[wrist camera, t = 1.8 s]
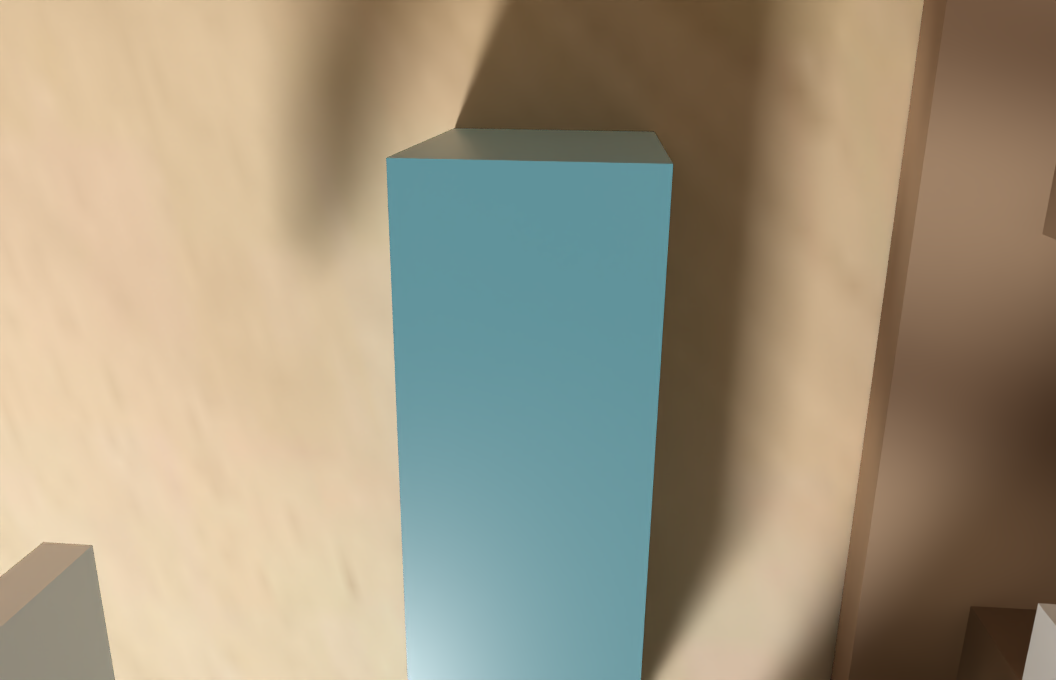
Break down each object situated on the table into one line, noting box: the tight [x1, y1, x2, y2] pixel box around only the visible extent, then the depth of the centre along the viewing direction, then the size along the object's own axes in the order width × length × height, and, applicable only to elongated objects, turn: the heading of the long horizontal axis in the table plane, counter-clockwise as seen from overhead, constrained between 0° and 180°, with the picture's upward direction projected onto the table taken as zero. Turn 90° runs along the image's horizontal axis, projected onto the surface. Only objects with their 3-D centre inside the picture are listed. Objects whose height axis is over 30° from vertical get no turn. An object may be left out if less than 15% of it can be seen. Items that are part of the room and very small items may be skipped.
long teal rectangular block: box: [386, 128, 673, 680], centre depth 15 cm, size 13×4×5 cm, turn 0°
